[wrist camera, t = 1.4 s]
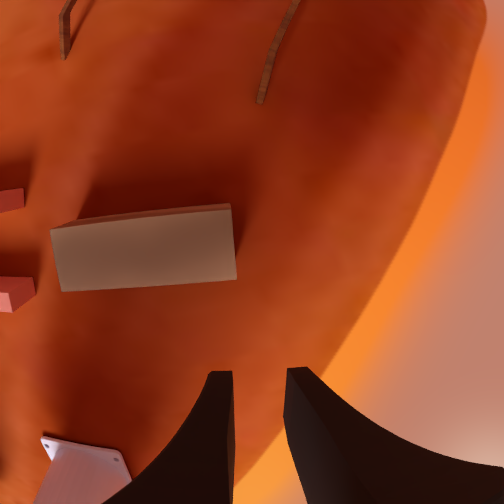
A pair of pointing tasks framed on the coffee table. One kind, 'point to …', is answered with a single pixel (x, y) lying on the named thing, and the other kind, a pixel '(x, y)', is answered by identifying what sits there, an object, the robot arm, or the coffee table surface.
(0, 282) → the end cap
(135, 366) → the coffee table surface
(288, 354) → the coffee table surface
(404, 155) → the coffee table surface
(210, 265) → the beige rectangular block
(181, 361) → the coffee table surface
